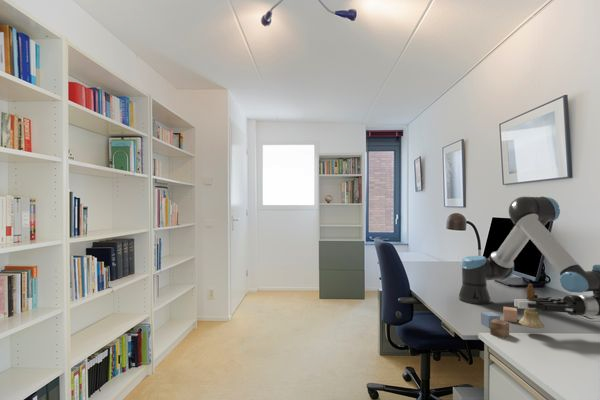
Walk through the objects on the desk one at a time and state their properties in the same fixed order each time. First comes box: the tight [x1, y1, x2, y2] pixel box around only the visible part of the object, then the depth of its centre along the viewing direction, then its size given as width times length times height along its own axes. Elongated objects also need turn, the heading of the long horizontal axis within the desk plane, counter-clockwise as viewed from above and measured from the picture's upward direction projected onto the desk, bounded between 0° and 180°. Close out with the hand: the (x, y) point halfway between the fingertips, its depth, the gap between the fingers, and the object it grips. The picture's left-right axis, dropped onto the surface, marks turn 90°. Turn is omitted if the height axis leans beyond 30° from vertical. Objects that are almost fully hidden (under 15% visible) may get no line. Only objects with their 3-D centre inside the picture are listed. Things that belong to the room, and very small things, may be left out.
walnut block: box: [489, 319, 510, 339], centre depth 130 cm, size 5×5×5 cm
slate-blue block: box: [480, 311, 501, 329], centre depth 140 cm, size 5×5×5 cm
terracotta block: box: [502, 306, 518, 323], centre depth 147 cm, size 5×5×5 cm
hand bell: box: [518, 283, 545, 329], centre depth 131 cm, size 8×8×16 cm
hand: (516, 303), depth 131 cm, fingers closed on hand bell, 2 cm apart
